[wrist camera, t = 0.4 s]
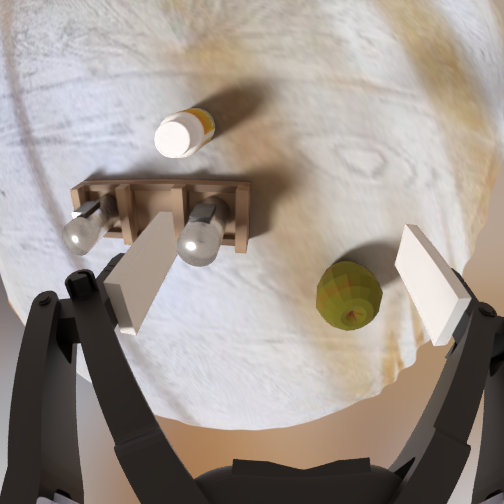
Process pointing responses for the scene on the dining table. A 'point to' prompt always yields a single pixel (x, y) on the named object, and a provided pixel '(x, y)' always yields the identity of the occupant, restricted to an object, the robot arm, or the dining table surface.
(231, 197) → the wooden spice rack
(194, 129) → the supplement bottle
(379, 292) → the apple
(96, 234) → the glass spice jar
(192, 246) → the shiny gray cylinder
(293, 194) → the dining table surface
